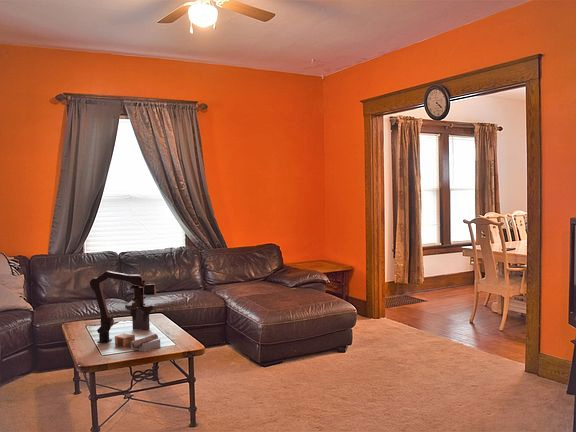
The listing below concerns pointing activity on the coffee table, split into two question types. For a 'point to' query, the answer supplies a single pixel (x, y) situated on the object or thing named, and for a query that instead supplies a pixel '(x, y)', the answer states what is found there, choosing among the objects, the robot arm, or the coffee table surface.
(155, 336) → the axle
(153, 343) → the v block
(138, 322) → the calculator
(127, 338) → the orange brown notched block
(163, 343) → the coffee table surface
